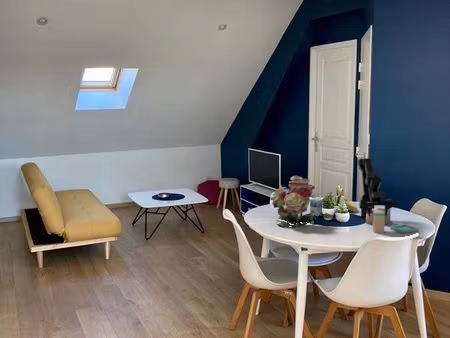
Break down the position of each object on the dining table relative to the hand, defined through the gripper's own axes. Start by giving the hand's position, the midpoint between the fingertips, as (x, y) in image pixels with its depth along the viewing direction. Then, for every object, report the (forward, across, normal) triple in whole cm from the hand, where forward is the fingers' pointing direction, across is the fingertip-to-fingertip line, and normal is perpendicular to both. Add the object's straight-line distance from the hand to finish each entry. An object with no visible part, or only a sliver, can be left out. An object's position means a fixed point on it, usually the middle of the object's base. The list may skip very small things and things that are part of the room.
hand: (378, 216), depth 291 cm
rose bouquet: (-7, -47, +19) cm, 51 cm away
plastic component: (-34, -9, +46) cm, 58 cm away
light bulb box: (-24, -30, +36) cm, 52 cm away
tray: (+5, +15, +7) cm, 18 cm away
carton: (+7, 0, +5) cm, 9 cm away
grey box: (-7, +7, +19) cm, 21 cm away
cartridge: (-6, -1, +18) cm, 19 cm away
